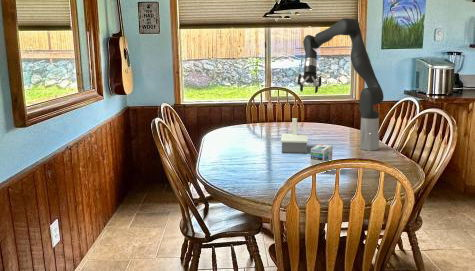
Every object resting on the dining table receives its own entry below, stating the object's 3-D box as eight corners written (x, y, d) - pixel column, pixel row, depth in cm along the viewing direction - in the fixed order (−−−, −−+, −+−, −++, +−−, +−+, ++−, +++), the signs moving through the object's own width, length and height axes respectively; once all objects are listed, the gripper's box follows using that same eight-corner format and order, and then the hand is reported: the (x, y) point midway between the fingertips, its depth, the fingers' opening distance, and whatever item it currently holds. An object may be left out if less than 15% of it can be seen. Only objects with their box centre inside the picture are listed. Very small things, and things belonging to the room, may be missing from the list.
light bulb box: (323, 174, 190) (324, 150, 188) (309, 171, 194) (310, 148, 191) (332, 168, 199) (333, 145, 197) (318, 166, 202) (319, 143, 200)
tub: (306, 153, 226) (306, 142, 225) (281, 153, 228) (281, 142, 227) (305, 146, 244) (306, 135, 243) (282, 145, 245) (282, 135, 244)
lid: (307, 144, 225) (308, 124, 223) (280, 144, 227) (281, 123, 224) (306, 137, 243) (307, 118, 241) (281, 137, 245) (282, 118, 243)
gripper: (300, 63, 260) (298, 88, 257) (323, 66, 261) (322, 91, 257) (297, 67, 267) (295, 92, 264) (320, 70, 268) (318, 95, 265)
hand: (308, 92), depth 261 cm, fingers open, 8 cm apart
